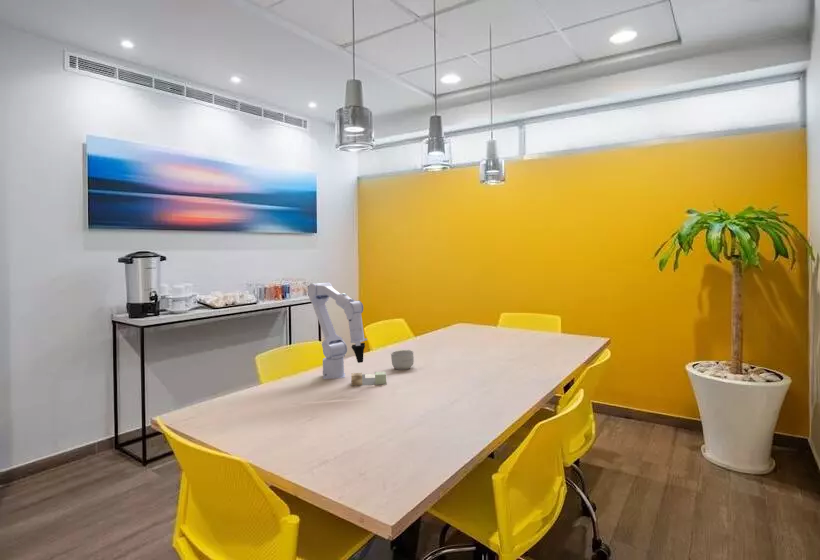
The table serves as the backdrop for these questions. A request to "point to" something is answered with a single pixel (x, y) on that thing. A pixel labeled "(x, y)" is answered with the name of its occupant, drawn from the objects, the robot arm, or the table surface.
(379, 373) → the sage block
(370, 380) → the baseplate
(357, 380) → the maple block
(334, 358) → the robot arm
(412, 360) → the teacup
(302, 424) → the table surface
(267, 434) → the table surface
